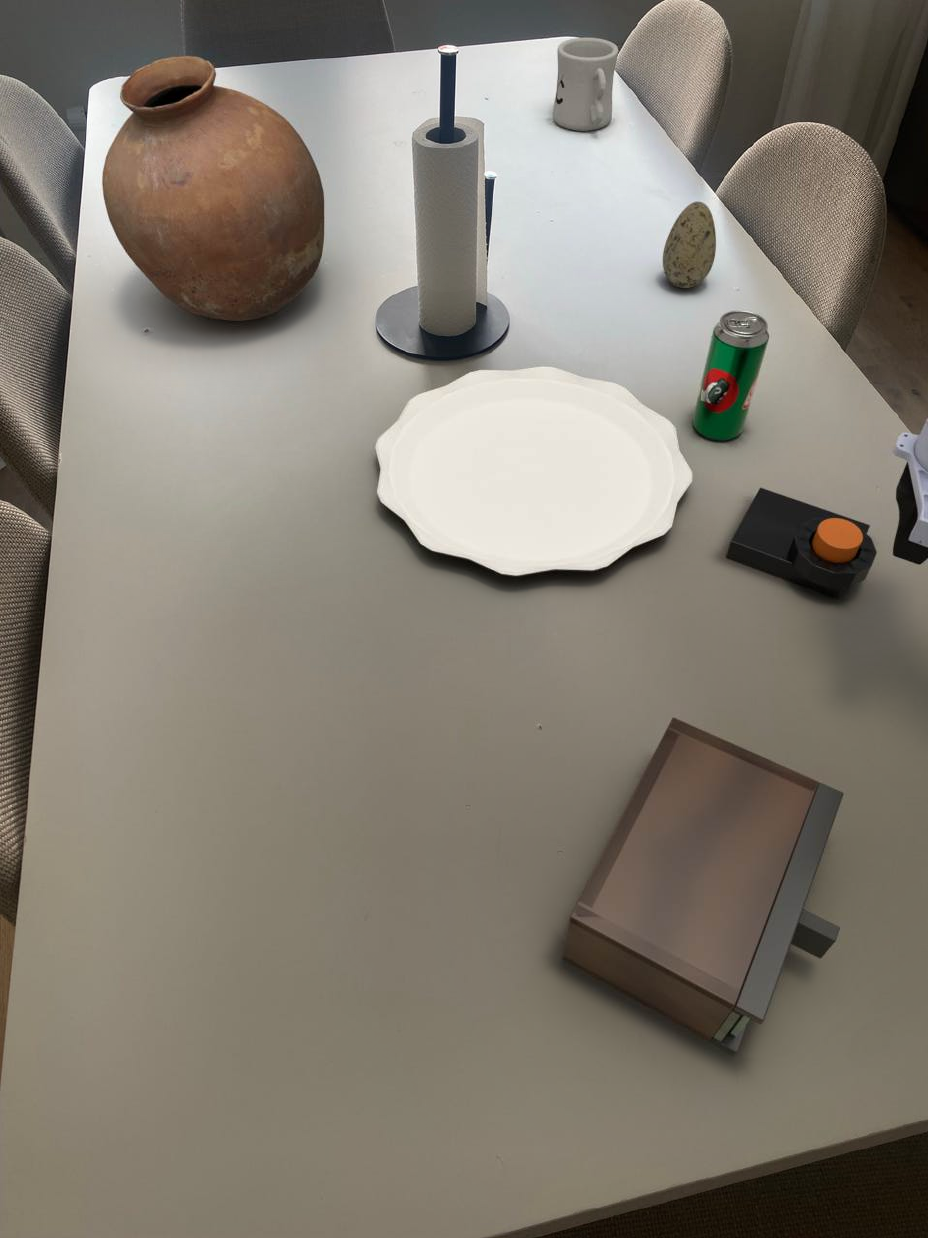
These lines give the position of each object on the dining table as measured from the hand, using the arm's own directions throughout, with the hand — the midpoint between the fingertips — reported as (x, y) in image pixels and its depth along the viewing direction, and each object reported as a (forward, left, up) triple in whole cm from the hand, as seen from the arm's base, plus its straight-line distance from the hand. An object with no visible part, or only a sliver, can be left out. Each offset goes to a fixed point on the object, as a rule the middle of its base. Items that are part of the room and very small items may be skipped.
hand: (908, 554), depth 67 cm
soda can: (+20, -20, -10) cm, 30 cm away
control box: (+8, -7, -10) cm, 15 cm away
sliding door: (-2, +31, -9) cm, 33 cm away
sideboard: (+5, +28, -10) cm, 30 cm away
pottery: (+78, -15, -10) cm, 80 cm away
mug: (+63, -80, -10) cm, 102 cm away
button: (+5, -5, -6) cm, 9 cm away
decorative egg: (+33, -44, -10) cm, 56 cm away
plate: (+33, -4, -10) cm, 35 cm away
